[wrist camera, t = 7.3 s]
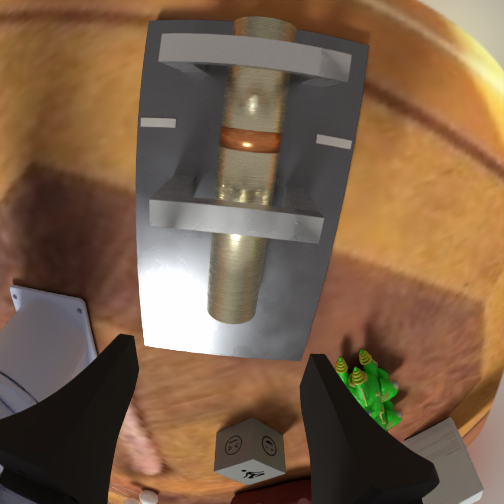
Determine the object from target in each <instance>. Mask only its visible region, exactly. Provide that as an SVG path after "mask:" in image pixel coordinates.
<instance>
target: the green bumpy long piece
mask: <svg viewBox="0 0 504 504" xmlns="http://www.w3.org/2000/svg"><path fill="white" fill-rule="evenodd" d="M359 359H360V363H361V364H362V365H363V368H364V369H362V370H360V369H359V368H357V367H356V366H355V367H354V370H353V372H352V373H350V374H349V375H348V372H347V370H348V366H347V364H346V362H345V360H344V359H343V358H341V357H339V359H338V360H337V362H336V367H335V370H336V372H337V373H338V375H339V376H340V378H341V379H342V381H343V382H344V384H345V385H346V386H347V388H348V389H349V390H350V392H351V393H352V394H353V396H354V397H355V398H356V400H357V401H358V402H359V403H360V404H361V406H362V407H363V408H364V409H365V410H366V411H367V413H368V414H369V415H370V416H371V417H372V418H373V419H374V420H375V421H376V422H377V423H378V424H379V425H380V426H381V427H382V428H383V429H385V430H386V431H387V432H388V429H390V428H392V427H394V426H395V425H397V424H398V423H399V422H400V421H401V419H402V412H400V411H394V410H392V409H393V403H392V402H391V401H389V400H390V399H391V398H393V397H394V396H395V395H396V394H397V392H398V387H399V384H398V382H396V381H391V380H388V378H389V375H388V373H387V372H386V371H384V370H382V369H379V368H378V364H377V362H375V361H374V360H373V359H372V357H371V355H370V354H369V353H368V352H367V351H365V350H362V349H360V352H359ZM376 364H377V366H376Z"/></svg>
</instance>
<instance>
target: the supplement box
mask: <svg viewBox="0 0 504 504" xmlns="http://www.w3.org/2000/svg"><path fill="white" fill-rule="evenodd" d="M404 444H405V446H406V447H408V448H409V449H410V450H412V451H413V452H415V453H417V454H418V455H420V456H422V457H424V458H425V459H427V460H429V461H431V462H433V464H434V466H435V468H436V470H437V473H438V477H439V480H440V483H439V484H438V486H437V487H436V488H435V489H434V490H433V491H431V492H430V493H429V494H427V495H426V496H425V497H423V498H422V501H423V504H447V503H450V504H472V503H474V502H476V501H478V500H479V499H480V498H481V496H482V493H483V491H484V488H483V486H482V484H481V481H480V479H479V477H478V474H477V472H476V469H475V467H474V465H473V462H472V461H471V458H470V455H469V453H468V451H467V449H466V446H465V444H464V442H463V440H462V438H461V435H460V433H459V431H458V429H457V427H456V425H455V423H454V421H453V419H452V418H451V416H450V417H449V418H447V419H445V420H444V421H442V422H440V423H438V424H436V425H435V426H433V427H431V428H429V429H427V430H425V431H423V432H421V433H419V434H417V435H415V436H413V437H411V438H409V439H407V440H405V441H404Z"/></svg>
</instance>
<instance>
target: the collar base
mask: <svg viewBox="0 0 504 504" xmlns="http://www.w3.org/2000/svg"><path fill="white" fill-rule="evenodd" d="M233 25H234V22H232V21H215V20H155V21H149V25H148V32H147V38H146V46H145V53H144V61H143V70H142V79H141V90H140V101H139V115H138V131H137V154H136V237H137V260H138V277H139V291H140V303H141V314H142V324H143V333H144V342H145V345H147V346H153V347H160V348H166V349H173V350H181V351H189V352H197V353H205V354H214V355H224V356H234V357H246V358H258V359H273V360H290V361H301V359H302V356H303V353H304V350H305V346H306V343H307V340H308V336H309V333H310V330H311V326H312V323H313V319H314V316H315V312H316V309H317V305H318V301H319V298H320V294H321V290H322V287H323V283H324V279H325V275H326V271H327V267H328V263H329V259H330V255H331V251H332V247H333V243H334V239H335V235H336V230H337V226H338V222H339V217H340V213H341V208H342V203H343V199H344V194H345V189H346V184H347V180H348V175H349V169H350V164H351V159H352V154H353V148H354V143H355V137H356V131H357V125H358V119H359V113H360V107H361V100H362V94H363V87H364V80H365V72H366V65H367V56H368V48H369V46H368V45H364V44H361V43H357V42H353V41H349V40H346V39H341V38H337V37H333V36H328V35H324V34H319V33H314V32H309V31H304V30H298V29H297V30H296V38H295V43H292V42H285V41H279V40H271V39H263V38H255V37H245V36H233V35H232V32H233ZM228 66H235V67H246V68H255V69H263V70H271V71H278V72H285V73H291V76H290V83H289V90H288V98H287V105H286V112H285V119H284V126H283V135H282V142H281V149H280V155H279V162H278V168H277V175H276V182H275V189H274V196H273V203H272V206H270V205H261V204H253V203H243V202H234V201H225V200H215V199H214V192H215V181H216V170H217V159H218V149H219V137H220V127H221V120H222V111H223V102H224V94H225V85H226V77H227V69H228ZM211 232H216V233H225V234H235V235H244V236H254V237H263V238H267V243H266V249H265V256H264V262H263V269H262V275H261V282H260V288H259V294H258V301H257V307H256V313H255V316H254V317H253V318H252V319H251V320H250V321H248V322H246V323H242V324H226V323H222V322H219V321H217V320H215V319H214V318H212V317H211V316H210V315H209V314H208V312H207V291H208V274H209V258H210V243H211Z"/></svg>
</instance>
